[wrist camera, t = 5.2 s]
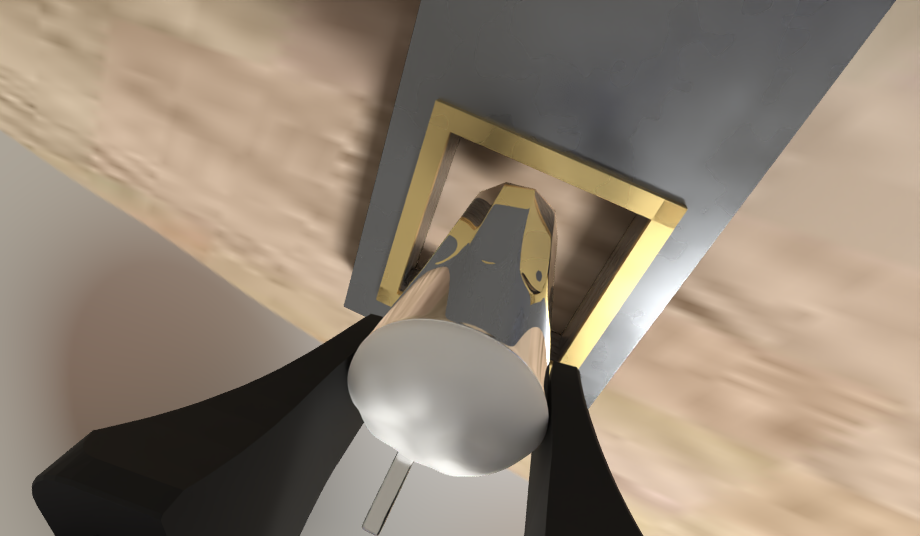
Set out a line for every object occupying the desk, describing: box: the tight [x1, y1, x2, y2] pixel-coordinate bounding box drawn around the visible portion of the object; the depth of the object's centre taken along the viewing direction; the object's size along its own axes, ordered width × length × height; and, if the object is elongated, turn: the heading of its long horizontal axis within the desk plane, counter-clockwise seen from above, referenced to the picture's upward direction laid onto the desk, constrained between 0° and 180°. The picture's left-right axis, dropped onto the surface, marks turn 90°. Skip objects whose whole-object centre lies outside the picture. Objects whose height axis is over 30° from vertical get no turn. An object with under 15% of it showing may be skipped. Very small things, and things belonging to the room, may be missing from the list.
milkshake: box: [347, 182, 558, 536], centre depth 13 cm, size 4×5×10 cm
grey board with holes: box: [344, 0, 896, 409], centre depth 15 cm, size 12×26×2 cm, turn 161°
